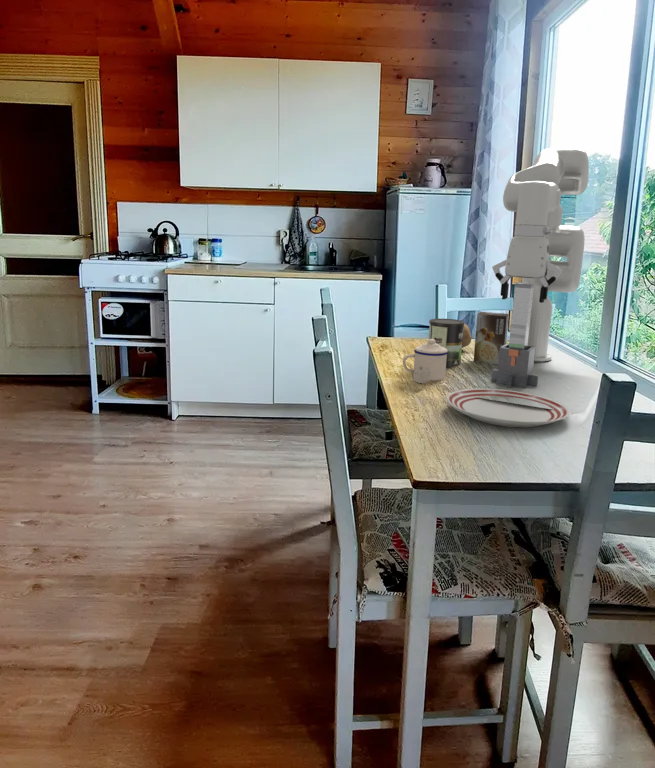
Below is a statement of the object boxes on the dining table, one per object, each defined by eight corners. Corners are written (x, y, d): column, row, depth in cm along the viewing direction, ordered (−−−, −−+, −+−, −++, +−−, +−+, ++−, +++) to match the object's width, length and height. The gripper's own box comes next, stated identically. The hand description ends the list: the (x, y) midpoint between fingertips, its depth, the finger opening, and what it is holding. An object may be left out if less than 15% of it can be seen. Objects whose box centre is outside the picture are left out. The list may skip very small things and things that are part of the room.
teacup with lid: (443, 378, 181) (447, 337, 178) (447, 386, 172) (450, 343, 169) (401, 376, 182) (403, 335, 179) (402, 384, 173) (404, 341, 170)
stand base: (496, 380, 180) (500, 341, 178) (540, 386, 175) (545, 346, 172) (485, 389, 170) (489, 348, 167) (531, 396, 165) (536, 353, 162)
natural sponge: (441, 346, 226) (444, 318, 224) (467, 347, 226) (469, 319, 223) (444, 351, 217) (447, 322, 215) (471, 352, 217) (474, 323, 214)
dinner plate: (508, 394, 166) (510, 382, 166) (595, 425, 143) (597, 411, 142) (422, 406, 154) (422, 393, 153) (500, 442, 131) (502, 426, 130)
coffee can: (460, 364, 198) (464, 319, 195) (460, 372, 189) (464, 324, 185) (427, 362, 200) (430, 317, 197) (425, 369, 191) (428, 322, 187)
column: (510, 360, 174) (518, 282, 168) (525, 362, 172) (534, 283, 167) (506, 363, 170) (514, 283, 164) (521, 365, 168) (530, 284, 162)
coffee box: (505, 364, 200) (510, 313, 196) (502, 368, 194) (507, 316, 190) (475, 361, 203) (480, 311, 199) (472, 365, 198) (476, 313, 194)
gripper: (568, 233, 161) (560, 302, 166) (499, 231, 169) (493, 296, 174) (563, 234, 155) (555, 305, 159) (492, 231, 163) (486, 299, 167)
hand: (522, 300), depth 167 cm, fingers open, 9 cm apart
